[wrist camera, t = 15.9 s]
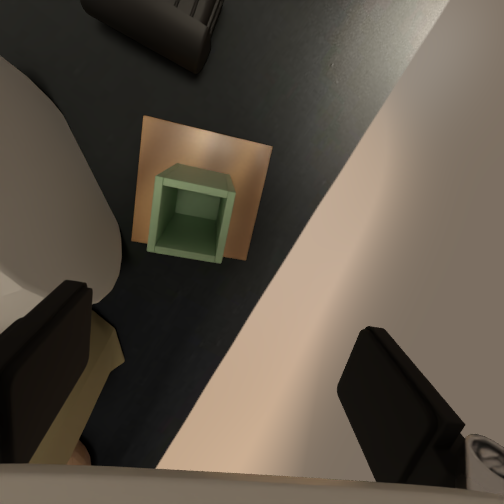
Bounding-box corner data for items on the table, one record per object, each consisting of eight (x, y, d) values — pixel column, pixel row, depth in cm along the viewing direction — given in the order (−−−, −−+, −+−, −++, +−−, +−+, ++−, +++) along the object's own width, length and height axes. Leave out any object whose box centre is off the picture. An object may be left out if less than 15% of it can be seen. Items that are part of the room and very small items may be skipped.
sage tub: (230, 174, 34) (236, 192, 23) (220, 224, 36) (221, 263, 25) (176, 162, 33) (155, 175, 22) (169, 215, 35) (146, 251, 23)
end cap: (100, 27, 28) (66, -5, 22) (124, -59, 26) (94, -121, 20) (199, 82, 31) (194, 67, 24) (228, 7, 29) (230, -30, 22)
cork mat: (272, 146, 34) (272, 146, 33) (245, 259, 38) (245, 260, 38) (144, 115, 31) (143, 114, 31) (132, 239, 36) (131, 241, 35)
